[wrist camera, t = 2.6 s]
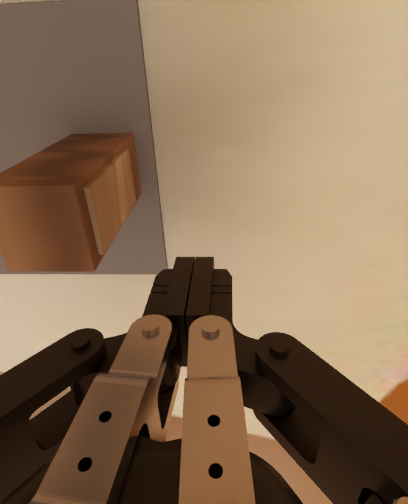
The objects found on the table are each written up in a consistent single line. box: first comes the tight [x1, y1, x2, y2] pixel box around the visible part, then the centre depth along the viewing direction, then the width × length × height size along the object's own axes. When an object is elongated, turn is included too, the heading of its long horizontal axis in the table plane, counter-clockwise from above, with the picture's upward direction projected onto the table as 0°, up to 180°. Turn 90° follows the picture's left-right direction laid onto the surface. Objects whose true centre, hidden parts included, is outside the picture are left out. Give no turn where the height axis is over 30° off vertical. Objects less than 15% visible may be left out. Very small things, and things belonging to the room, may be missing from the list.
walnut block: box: [0, 132, 142, 272], centre depth 23 cm, size 5×5×12 cm
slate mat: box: [0, 0, 168, 274], centre depth 29 cm, size 22×22×1 cm
